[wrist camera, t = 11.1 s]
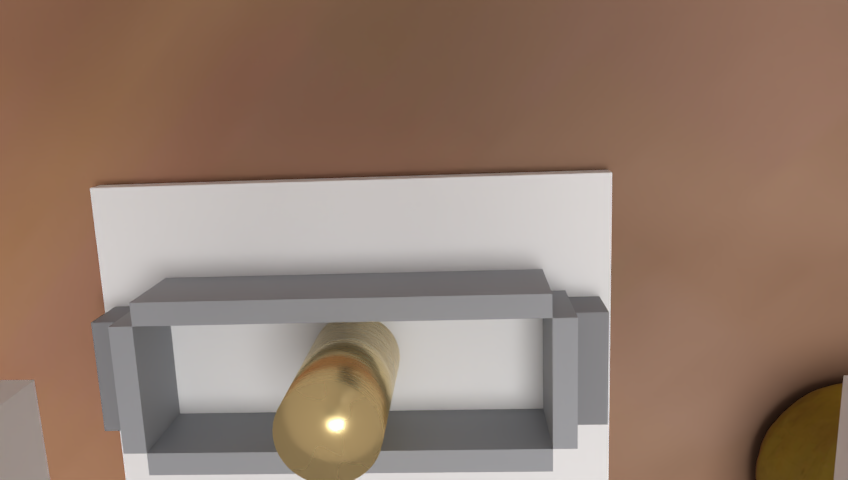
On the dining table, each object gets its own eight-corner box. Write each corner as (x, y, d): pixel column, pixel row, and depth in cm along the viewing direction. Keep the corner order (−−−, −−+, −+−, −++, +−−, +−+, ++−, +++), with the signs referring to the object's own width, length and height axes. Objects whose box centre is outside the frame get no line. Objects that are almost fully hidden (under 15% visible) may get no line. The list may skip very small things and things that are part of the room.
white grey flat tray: (99, 185, 36) (43, 202, 31) (608, 169, 35) (631, 185, 30) (138, 503, 39) (92, 563, 35) (604, 499, 38) (625, 562, 33)
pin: (309, 316, 36) (266, 383, 28) (396, 312, 36) (378, 379, 28) (316, 398, 37) (277, 486, 29) (402, 395, 36) (387, 483, 29)
